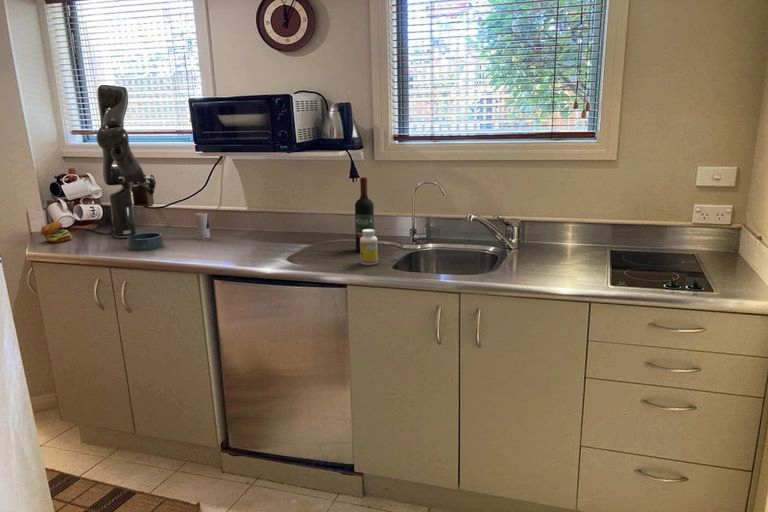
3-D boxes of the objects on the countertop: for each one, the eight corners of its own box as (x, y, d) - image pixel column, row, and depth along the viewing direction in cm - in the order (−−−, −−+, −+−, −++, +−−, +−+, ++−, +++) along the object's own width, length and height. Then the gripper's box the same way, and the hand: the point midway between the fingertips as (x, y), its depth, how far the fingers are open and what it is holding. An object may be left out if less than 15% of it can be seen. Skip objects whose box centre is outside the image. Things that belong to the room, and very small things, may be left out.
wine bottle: (376, 249, 238) (375, 176, 230) (370, 253, 231) (369, 179, 223) (359, 247, 240) (358, 176, 233) (353, 251, 233) (351, 178, 226)
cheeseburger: (74, 240, 257) (64, 220, 253) (48, 249, 252) (39, 229, 248) (71, 236, 265) (62, 216, 262) (46, 245, 260) (37, 224, 257)
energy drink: (212, 238, 260) (209, 212, 257) (207, 241, 255) (205, 214, 252) (200, 238, 261) (198, 212, 258) (195, 241, 255) (193, 214, 252)
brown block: (148, 206, 234) (146, 186, 232) (133, 206, 234) (131, 186, 232) (154, 203, 240) (152, 184, 238) (139, 203, 239) (137, 184, 237)
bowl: (122, 249, 241) (120, 237, 239) (150, 243, 252) (148, 231, 250) (141, 253, 233) (140, 240, 232) (170, 247, 244) (168, 234, 243)
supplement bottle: (359, 261, 219) (359, 228, 216) (377, 260, 219) (376, 228, 216) (360, 266, 212) (360, 232, 209) (378, 265, 213) (378, 231, 210)
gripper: (149, 159, 225) (163, 185, 239) (112, 159, 224) (128, 186, 239) (146, 174, 221) (160, 200, 235) (108, 175, 220) (124, 200, 235)
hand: (144, 193), depth 237 cm, fingers closed on brown block, 6 cm apart
